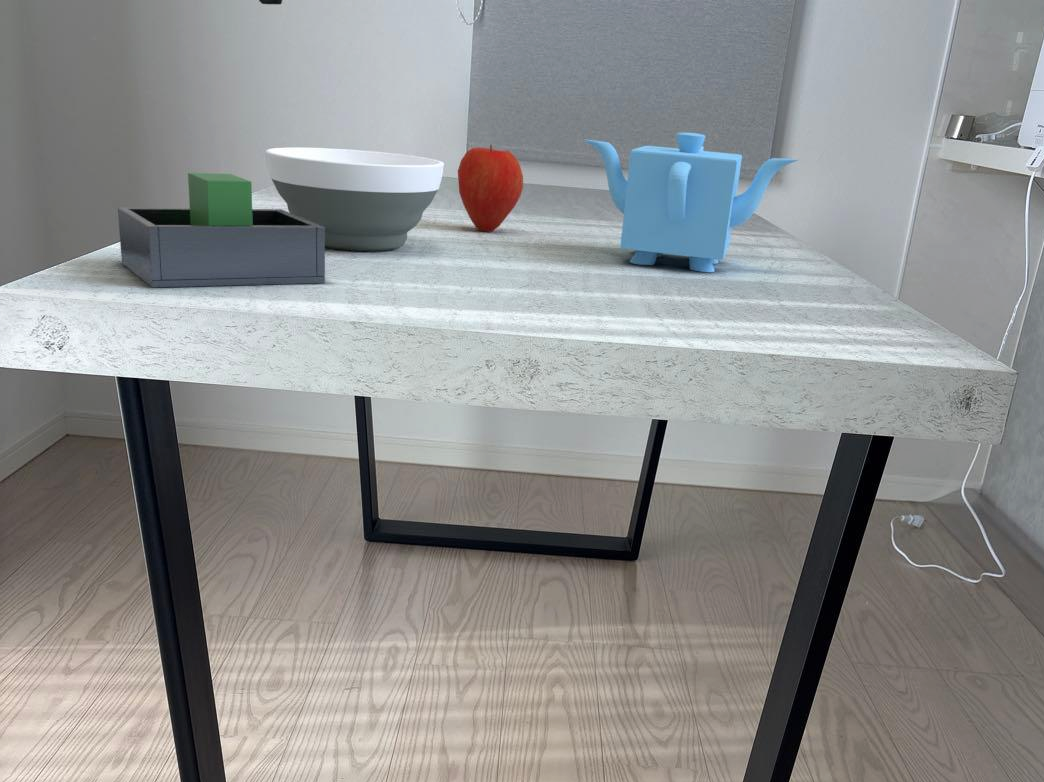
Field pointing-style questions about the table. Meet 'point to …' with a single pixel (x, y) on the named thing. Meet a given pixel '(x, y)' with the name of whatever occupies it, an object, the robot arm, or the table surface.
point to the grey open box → (221, 249)
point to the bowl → (356, 193)
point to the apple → (489, 186)
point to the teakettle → (682, 199)
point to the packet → (219, 199)
